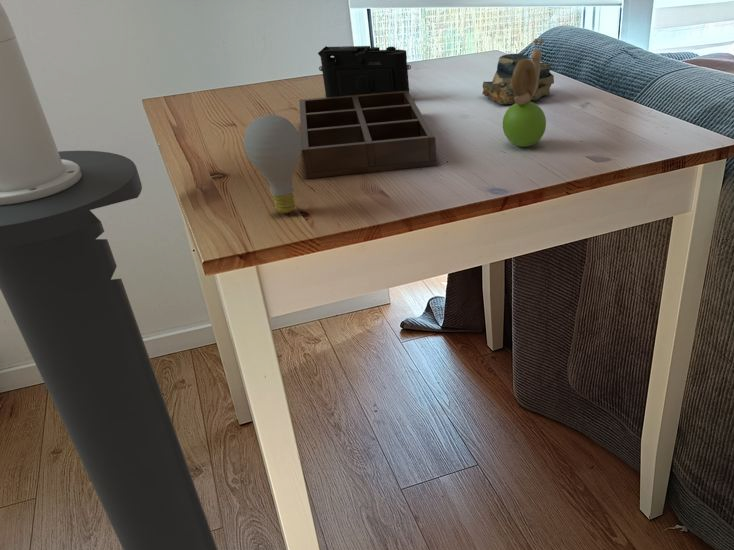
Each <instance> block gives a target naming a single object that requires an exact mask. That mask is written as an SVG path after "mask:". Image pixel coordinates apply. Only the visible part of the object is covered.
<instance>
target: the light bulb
mask: <svg viewBox="0 0 734 550" xmlns="http://www.w3.org/2000/svg"><path fill="white" fill-rule="evenodd" d="M243 139H244V140H243V145H244V151H245V154H246V156H247V158H248V160H249V161H250V162H251V164H252V165H253V166H254V167H255V168H256V169H257V170H258V172H259V173H260V174H261V175H262V176H263V177H264V179H265V180H266V181H267V183H268V186H269V191H270V194H271V195H272V199H273V203H274V209H275V211H277V212H278V213H281V214H282V213H283V214H284V215H288V214H290V213H291V212H292V211H294V210H295V209H296V202H295V198H294V197H295V196H294V186H293V177H294V174H295V171H296V168H297V166H298V163H299V160H300V158H301V155H302V143H301V134H300V133H299V131H298V129H297V127H296V126H295V125H294V123H292V122H291V121H290V120H289V119H287V118H285V117H283V116H281V115H277V114H264V115H261V116H259V117H257V118H254V119H253V120H251V122H250V123H249V124H248V125H247V128H246V130H245V133H244V137H243Z"/></svg>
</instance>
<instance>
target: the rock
mask: <svg viewBox="0 0 734 550" xmlns="http://www.w3.org/2000/svg"><path fill="white" fill-rule="evenodd" d="M522 59H529V60H530V61H531V62H532V59H531V56H530V57H529V56H527V55H526V54H523V53H508V54H503V55H501V56H499V58H498V62H497V65H496V71H495V73H494V76H493V78H492V81H483V82H482V89H483V90H482V93H481V95H482V96H484V97H487V98H488V99H490V100H492V101H493V102H495V103H497V104H499V105H511V104H515V103H516V102H515V100H514V98H515V97H516V95H515V93H514V92H513V89H512V75H513V71H514V68H515V66H516V65H517V63H518V62H519V61H520V60H522ZM550 71H552V65H551V64H550V62H548V61H543V60H541V61H540V75H539V80H538V85H537V90H536V92H535V94H534V96H533V97H532V99H531V100H530V101H533V100H535V101H539V100H540V99H541V98H542V97H544V96H548V95H550V93H551V92H550V89H551V87H552V85H553V84H554V83H555V76H554V74H553V73H551V72H550Z"/></svg>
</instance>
